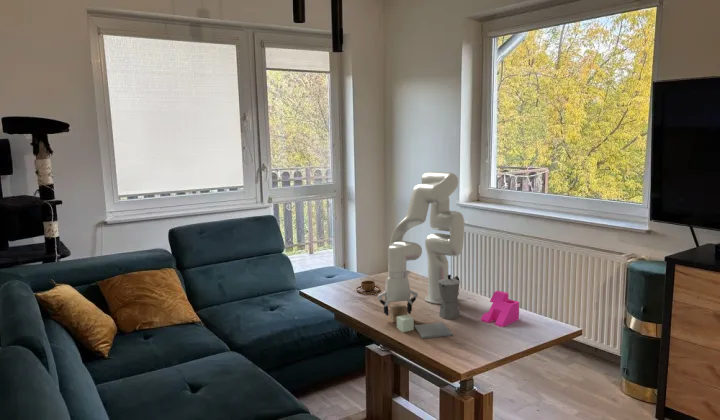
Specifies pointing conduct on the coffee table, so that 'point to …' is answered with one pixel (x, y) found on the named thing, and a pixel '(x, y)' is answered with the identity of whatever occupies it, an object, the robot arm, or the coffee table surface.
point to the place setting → (368, 287)
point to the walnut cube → (397, 311)
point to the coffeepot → (449, 297)
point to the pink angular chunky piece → (502, 310)
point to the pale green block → (405, 323)
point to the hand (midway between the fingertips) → (397, 313)
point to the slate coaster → (432, 330)
